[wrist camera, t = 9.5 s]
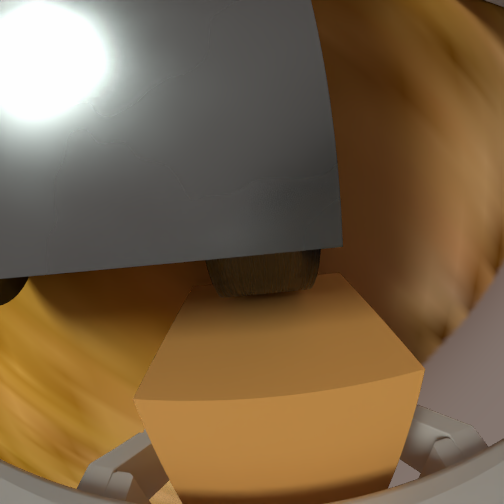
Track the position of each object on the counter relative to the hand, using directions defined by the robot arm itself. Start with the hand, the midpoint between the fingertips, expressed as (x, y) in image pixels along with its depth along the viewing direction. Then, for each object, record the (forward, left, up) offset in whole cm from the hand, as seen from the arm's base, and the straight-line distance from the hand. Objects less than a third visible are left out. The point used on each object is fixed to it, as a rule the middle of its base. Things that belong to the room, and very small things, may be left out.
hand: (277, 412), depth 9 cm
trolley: (+6, -14, -4) cm, 16 cm away
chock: (0, 0, -2) cm, 2 cm away
